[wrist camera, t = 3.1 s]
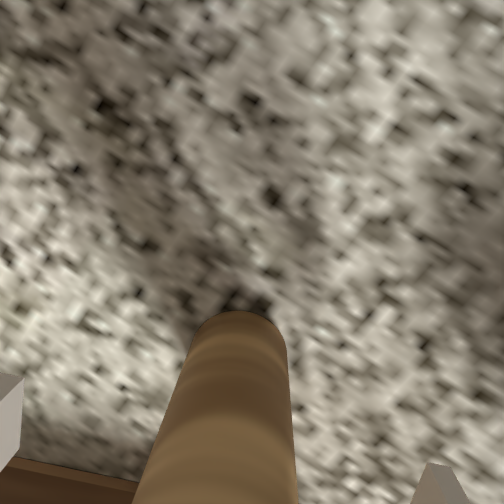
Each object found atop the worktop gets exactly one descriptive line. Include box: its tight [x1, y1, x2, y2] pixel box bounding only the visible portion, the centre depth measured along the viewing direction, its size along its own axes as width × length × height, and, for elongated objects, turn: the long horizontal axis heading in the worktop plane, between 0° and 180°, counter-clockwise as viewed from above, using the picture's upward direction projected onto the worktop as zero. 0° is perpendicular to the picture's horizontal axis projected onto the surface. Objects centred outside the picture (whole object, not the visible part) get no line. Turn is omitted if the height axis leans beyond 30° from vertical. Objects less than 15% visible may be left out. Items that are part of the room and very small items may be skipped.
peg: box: [132, 311, 298, 504], centre depth 12 cm, size 4×4×14 cm
